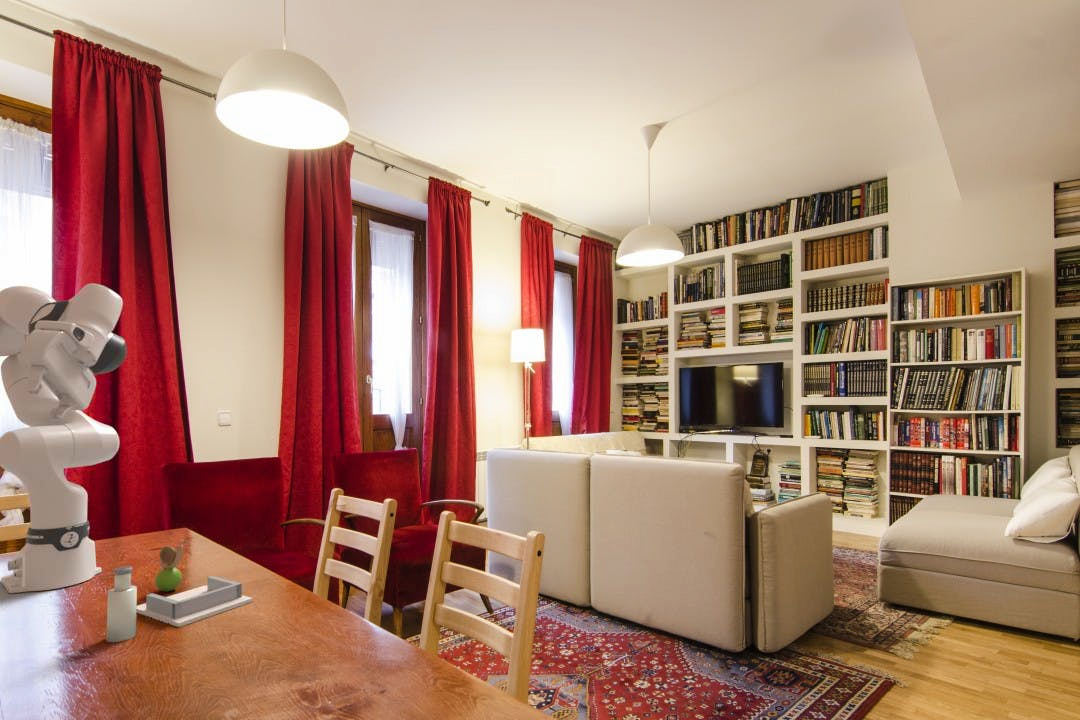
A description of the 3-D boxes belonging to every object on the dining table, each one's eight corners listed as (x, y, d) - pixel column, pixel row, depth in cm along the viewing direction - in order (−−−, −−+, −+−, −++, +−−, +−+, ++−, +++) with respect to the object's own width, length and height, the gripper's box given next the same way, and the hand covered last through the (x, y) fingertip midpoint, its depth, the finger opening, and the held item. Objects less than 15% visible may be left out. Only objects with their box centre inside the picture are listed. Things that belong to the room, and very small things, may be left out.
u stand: (132, 610, 127) (132, 593, 127) (205, 588, 141) (206, 572, 141) (178, 627, 118) (179, 607, 118) (252, 601, 132) (252, 584, 132)
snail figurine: (172, 595, 136) (173, 543, 136) (149, 594, 137) (150, 542, 138) (190, 587, 141) (191, 537, 142) (168, 586, 142) (169, 536, 143)
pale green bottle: (101, 639, 112) (103, 570, 113) (128, 630, 116) (130, 563, 117) (113, 644, 110) (115, 573, 111) (140, 635, 114) (142, 567, 115)
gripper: (79, 376, 129) (50, 431, 121) (33, 315, 113) (-5, 374, 104) (111, 378, 130) (84, 433, 122) (69, 318, 114) (35, 376, 106)
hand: (43, 405), depth 113 cm, fingers open, 8 cm apart
